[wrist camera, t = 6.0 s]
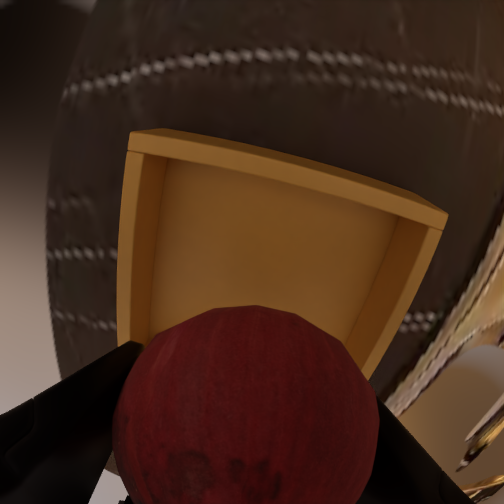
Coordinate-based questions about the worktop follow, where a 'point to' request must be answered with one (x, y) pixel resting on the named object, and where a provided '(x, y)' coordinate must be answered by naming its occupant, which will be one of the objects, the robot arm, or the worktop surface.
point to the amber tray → (266, 240)
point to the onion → (245, 414)
